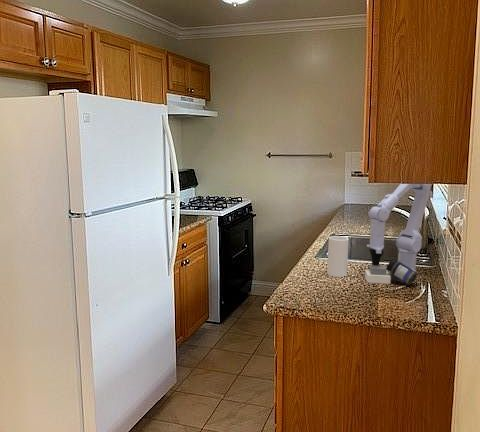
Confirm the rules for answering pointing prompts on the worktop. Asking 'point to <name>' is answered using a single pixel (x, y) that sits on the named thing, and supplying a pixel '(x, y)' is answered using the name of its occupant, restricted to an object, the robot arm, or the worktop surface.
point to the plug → (394, 278)
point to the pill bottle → (402, 272)
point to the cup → (337, 256)
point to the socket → (377, 278)
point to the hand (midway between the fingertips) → (375, 266)
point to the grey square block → (377, 269)
